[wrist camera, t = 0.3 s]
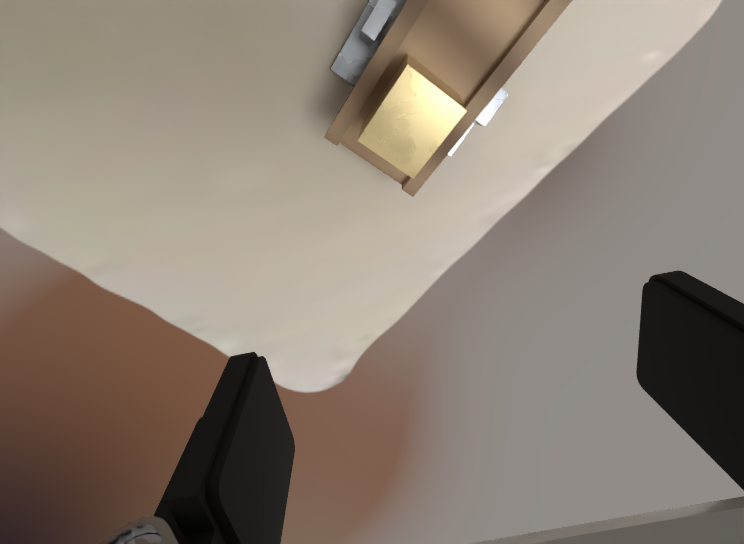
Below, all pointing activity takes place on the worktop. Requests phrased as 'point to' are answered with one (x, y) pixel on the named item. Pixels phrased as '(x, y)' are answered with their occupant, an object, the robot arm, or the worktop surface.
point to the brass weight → (411, 117)
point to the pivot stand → (367, 40)
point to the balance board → (447, 63)
